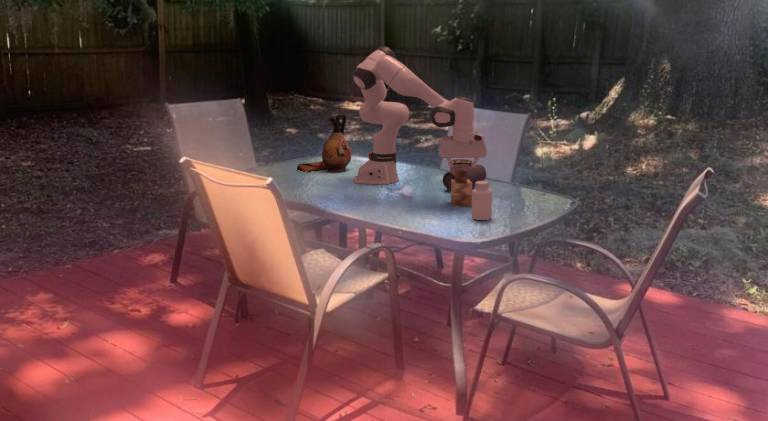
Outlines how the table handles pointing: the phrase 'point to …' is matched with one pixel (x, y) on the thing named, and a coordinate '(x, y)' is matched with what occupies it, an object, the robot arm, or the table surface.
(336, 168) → the ceramic jug
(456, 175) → the walnut block
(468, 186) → the tower top
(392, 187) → the table surface
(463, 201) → the block
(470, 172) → the bluetooth speaker
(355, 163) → the table surface
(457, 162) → the brown half-round wedge
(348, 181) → the table surface
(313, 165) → the sunglasses case
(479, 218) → the pill bottle
